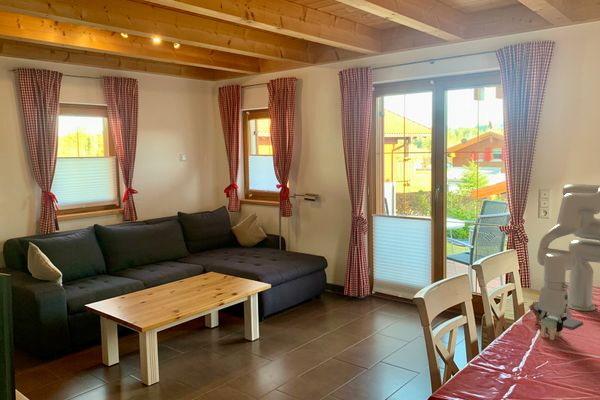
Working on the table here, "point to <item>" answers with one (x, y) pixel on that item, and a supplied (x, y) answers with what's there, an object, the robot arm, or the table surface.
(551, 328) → the sage stool
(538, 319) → the lion figurine
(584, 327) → the table surface
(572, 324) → the charcoal mat
